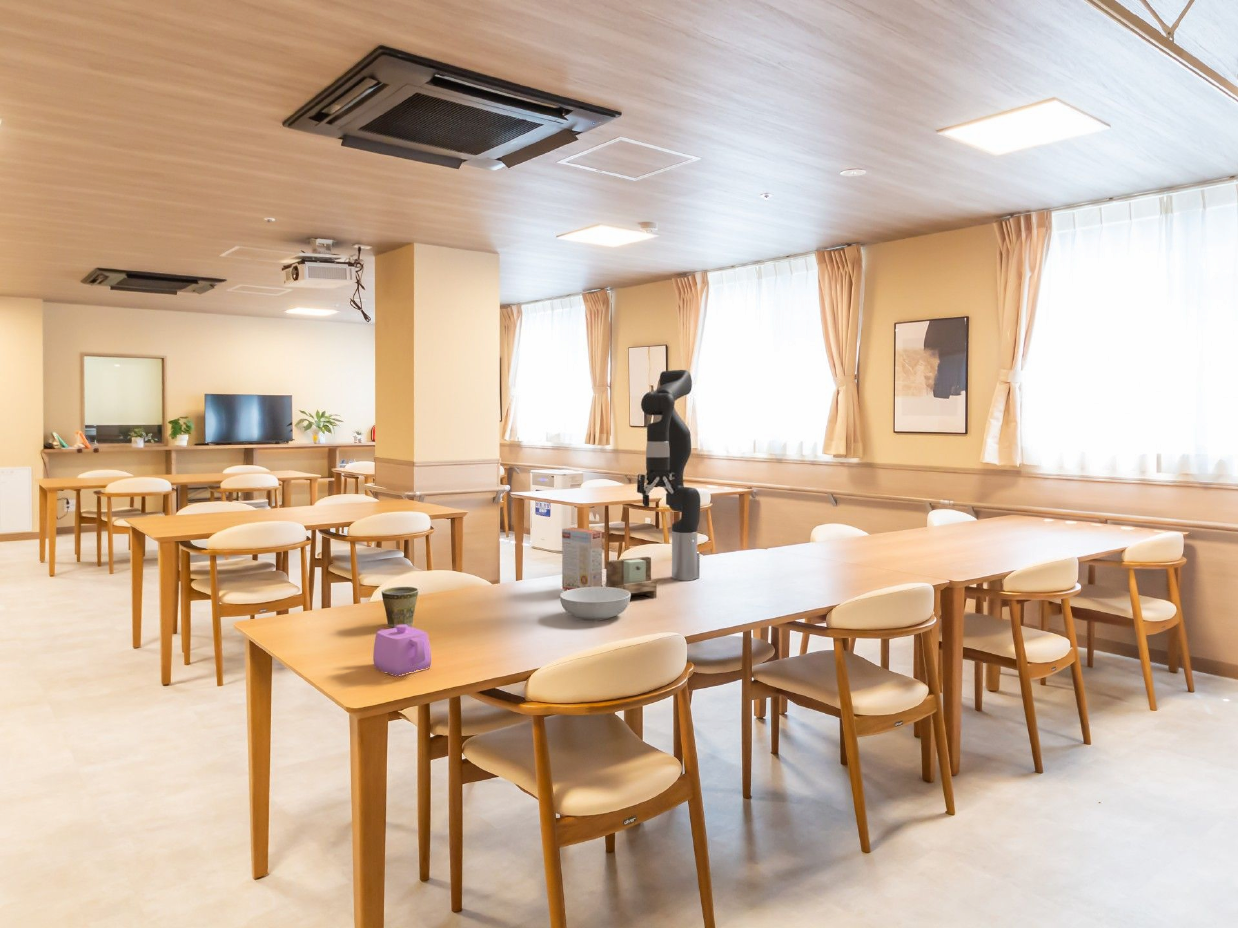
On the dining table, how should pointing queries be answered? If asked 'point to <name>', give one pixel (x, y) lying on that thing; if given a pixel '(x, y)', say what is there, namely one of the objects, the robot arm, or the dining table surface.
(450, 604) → the dining table surface
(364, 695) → the dining table surface
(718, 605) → the dining table surface
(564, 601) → the serving bowl
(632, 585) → the wooden stand
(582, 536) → the cracker box
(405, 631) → the teapot
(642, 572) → the cabinet block
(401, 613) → the ceramic cup
